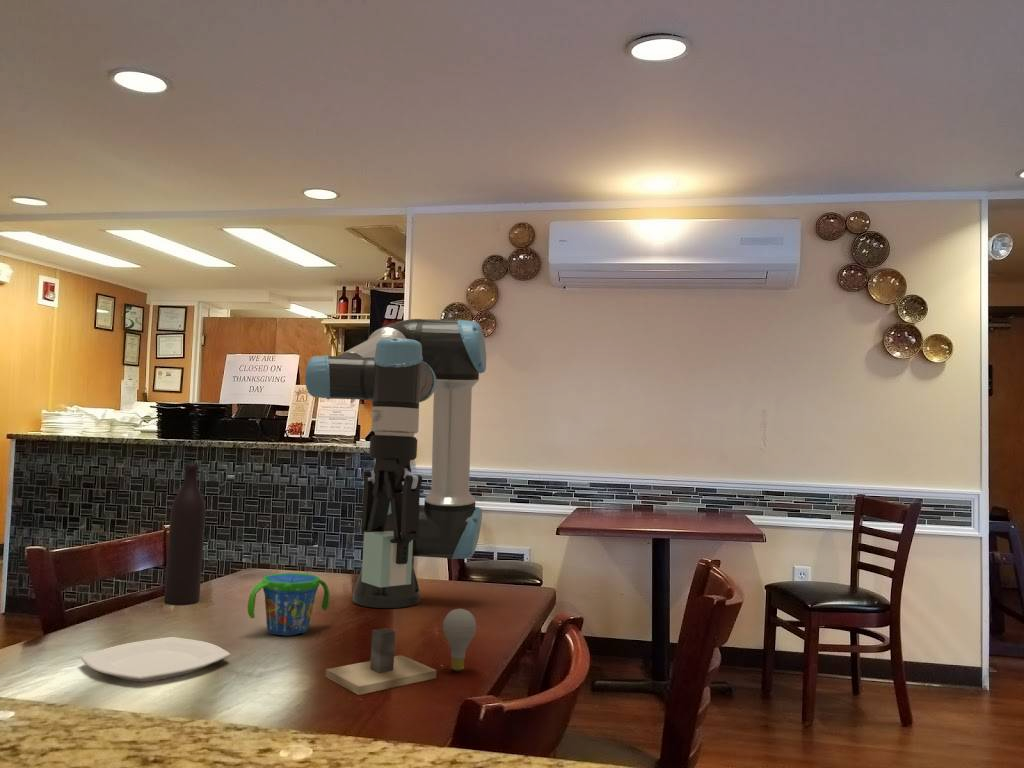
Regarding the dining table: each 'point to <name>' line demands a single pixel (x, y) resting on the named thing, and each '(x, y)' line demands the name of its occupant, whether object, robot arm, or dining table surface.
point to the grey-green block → (380, 559)
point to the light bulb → (459, 634)
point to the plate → (155, 658)
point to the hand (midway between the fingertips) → (386, 581)
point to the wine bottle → (185, 542)
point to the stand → (380, 668)
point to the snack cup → (288, 601)
